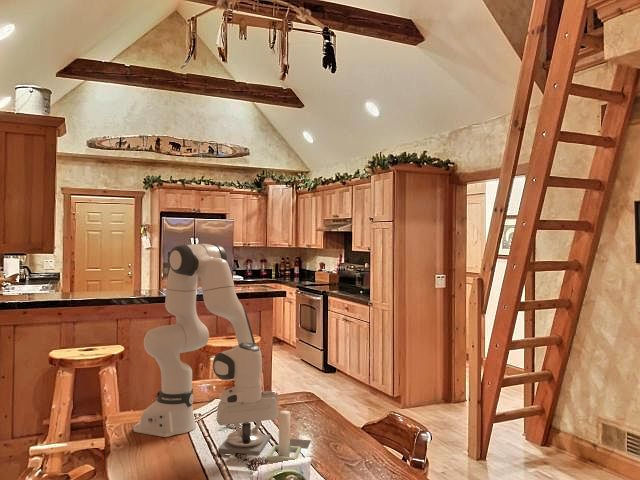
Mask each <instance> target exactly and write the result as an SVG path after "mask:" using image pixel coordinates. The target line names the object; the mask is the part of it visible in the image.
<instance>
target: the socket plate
mask: <svg viewBox="0 0 640 480" xmlns="http://www.w3.org/2000/svg"><path fill="white" fill-rule="evenodd" d="M311 442H312V439H311V440H309V439H298V438H297V439H296V438H290V446H298V447H301V449H308V448H309V446H310V444H311Z"/></svg>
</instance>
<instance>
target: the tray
mask: <svg viewBox="0 0 640 480" xmlns="http://www.w3.org/2000/svg"><path fill="white" fill-rule="evenodd" d="M275 451H279V444H274V445H272V447H271V449H270V451H269V452H268V453H267V455H266V461H270V462H272V461H273V462H282V461H288V460H295V459H297V460H298V458H299V455H300V454H301V451H302V448H301V447H298V446H290V452H295V453H294V455H293V456H289V457H283V456H279V455H274V454H275Z"/></svg>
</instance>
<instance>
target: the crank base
mask: <svg viewBox="0 0 640 480" xmlns="http://www.w3.org/2000/svg"><path fill="white" fill-rule="evenodd" d="M270 440H271V434H263V442H262V443H261V444H259V445H257V446H254V447H248V448H238V447H233V446H231V445H229V444H228V442H227V438H226V439H225V440H224V441H223V442H222V444H221V445H220V446H219V447H218V449H217V455H219V454H231V455H233V454H244V455H258V456H260V455H261V453H262V452H263V450H264V449H265V447H266V445H267V444H268V443H269V441H270Z"/></svg>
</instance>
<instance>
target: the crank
mask: <svg viewBox="0 0 640 480" xmlns="http://www.w3.org/2000/svg"><path fill="white" fill-rule="evenodd" d="M251 423H252V422H246V423H241V429H242V431H243V433H242V434H243V436H238V435H237V430H235V431H233V432H230V433H229V434H228V435H227V437H226V439H227V442H228V444H229V445H231V446H233V447H238V448H248V447H254V446H257V445H259V444H261V443H262V442H263V435H264V434H263V433H262V432H260V431H259V430H258V434H255V435H253V433H252V431H253V430H252V429H251V427H252V426H251V425H252V424H251Z"/></svg>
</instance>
